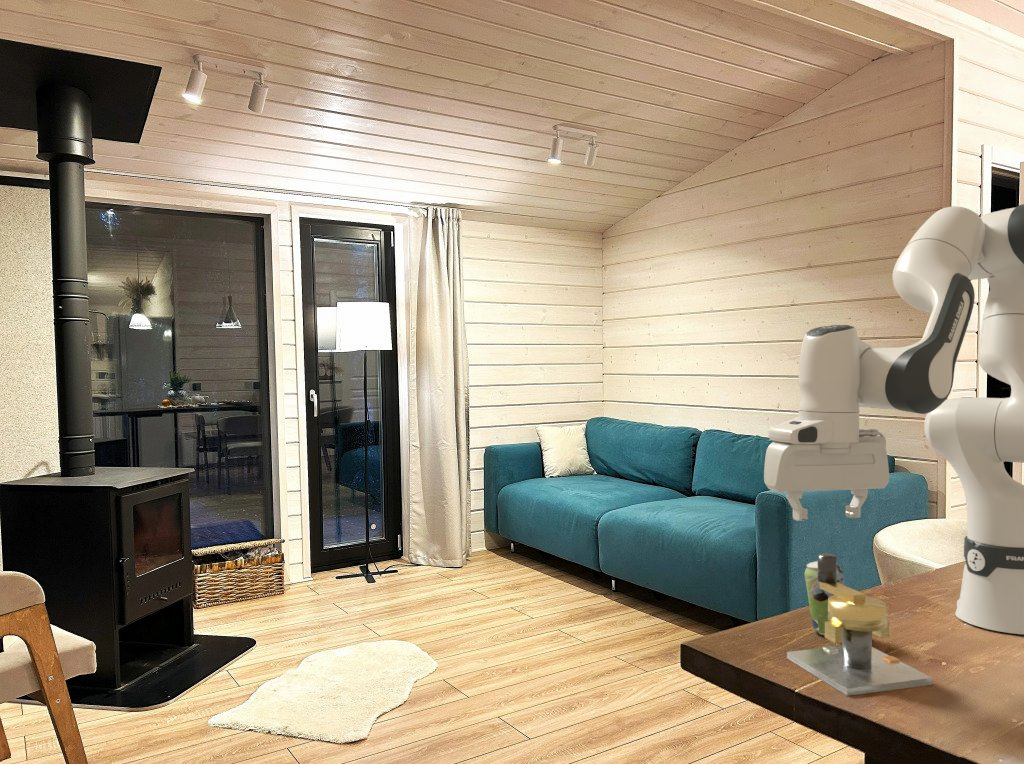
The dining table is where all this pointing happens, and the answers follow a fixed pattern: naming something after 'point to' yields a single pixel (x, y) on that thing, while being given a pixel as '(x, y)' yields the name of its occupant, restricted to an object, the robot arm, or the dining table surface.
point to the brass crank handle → (849, 605)
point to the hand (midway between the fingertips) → (826, 518)
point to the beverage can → (818, 596)
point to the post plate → (858, 677)
